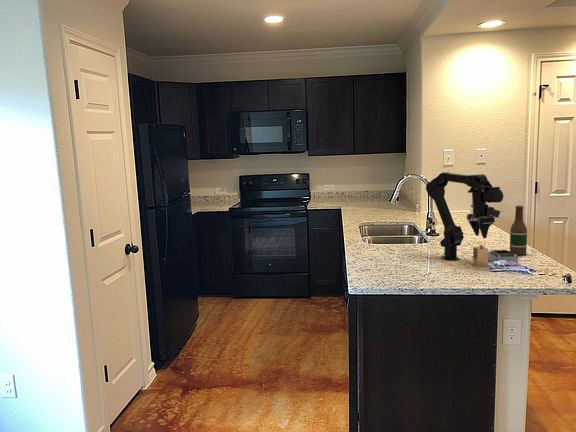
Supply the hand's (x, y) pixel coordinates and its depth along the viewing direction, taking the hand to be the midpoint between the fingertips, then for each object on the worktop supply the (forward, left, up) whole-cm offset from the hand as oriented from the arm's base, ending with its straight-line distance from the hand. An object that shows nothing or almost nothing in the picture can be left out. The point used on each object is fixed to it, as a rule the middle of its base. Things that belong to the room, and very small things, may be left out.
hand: (480, 237), depth 212 cm
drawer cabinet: (-3, +11, -13) cm, 17 cm away
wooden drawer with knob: (-1, 0, -13) cm, 13 cm away
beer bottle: (-17, +26, -13) cm, 33 cm away
